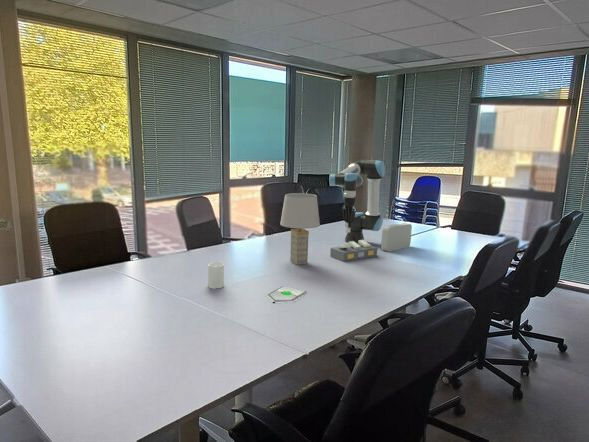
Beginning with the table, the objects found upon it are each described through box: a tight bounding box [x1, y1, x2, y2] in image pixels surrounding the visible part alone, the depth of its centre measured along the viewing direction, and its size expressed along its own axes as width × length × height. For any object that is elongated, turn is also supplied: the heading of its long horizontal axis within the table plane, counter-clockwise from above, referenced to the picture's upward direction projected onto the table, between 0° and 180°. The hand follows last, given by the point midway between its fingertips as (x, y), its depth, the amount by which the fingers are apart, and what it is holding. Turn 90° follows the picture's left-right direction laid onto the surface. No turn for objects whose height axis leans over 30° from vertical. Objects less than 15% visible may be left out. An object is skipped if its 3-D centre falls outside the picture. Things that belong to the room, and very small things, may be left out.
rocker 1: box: [337, 244, 351, 248], centre depth 278 cm, size 8×4×2 cm, turn 33°
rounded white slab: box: [380, 222, 413, 253], centre depth 308 cm, size 29×8×18 cm, turn 129°
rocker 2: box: [347, 241, 361, 249], centre depth 282 cm, size 8×4×2 cm, turn 33°
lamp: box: [279, 192, 321, 265], centre depth 262 cm, size 25×25×44 cm
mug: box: [207, 261, 225, 290], centre depth 218 cm, size 12×8×12 cm
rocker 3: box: [357, 239, 371, 248], centre depth 287 cm, size 8×4×2 cm, turn 33°
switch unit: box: [329, 243, 378, 263], centre depth 283 cm, size 15×30×7 cm, turn 123°
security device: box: [266, 285, 308, 302], centre depth 205 cm, size 17×22×2 cm
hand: (347, 232), depth 273 cm, fingers closed
